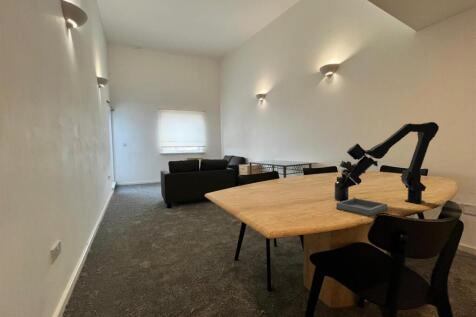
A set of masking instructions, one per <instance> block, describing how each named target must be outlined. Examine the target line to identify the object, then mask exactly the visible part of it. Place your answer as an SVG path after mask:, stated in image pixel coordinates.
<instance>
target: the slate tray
mask: <svg viewBox="0 0 476 317" xmlns="http://www.w3.org/2000/svg"><path fill="white" fill-rule="evenodd" d="M335 206H336V210H338V211H339V210H340V211H343V212H348V213H351V214H352V213H353V214H357V215H360V216H365V217H368V218H370V217H373V216H376V215H378V214H377V213H379V214H382V213H384V212H386V211H387V212H388V203H384V202H377V201H372V200H367V199H362V198H356V197H353V198H348V200H345V201H339V202H336V205H335Z"/></svg>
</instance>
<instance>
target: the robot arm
mask: <svg viewBox="0 0 476 317" xmlns="http://www.w3.org/2000/svg"><path fill="white" fill-rule="evenodd" d="M439 127H440V126H439V125H438V123H436V122H434V121H429V122H428V121H427V122H423V123H410V122H409V123H405V124H403V125H402V127H400V128H399V129H397V130H396V131H395V132H393V134H391V135H390V136H389V137H388V138H386V139H384V141H383V142H380V143H378V144H376V145H374V146H373V147H371V148H370V149H364V148H363V147H362V146H361V145H360V144H359V143H355V144H354V145H353V146H351V147H350V148H348V150H347V151H346V153H347V154H348V155H349V156H350V157H351V158H352V159H353V160H354V161H356V160H357V162H356V163H353V164H352V162H351V161H349V160H347V161H345V160H341V162H340V164H339V167H341V168H343V169H342V170H341V177H346V181H345V182H344V183H343V184H342V186H341V187H340V189H341V190H342V189H345V188H348V187H349V188H350V187H354V186H357V185H360V184H361V183H362V178H360V177H361V176H362V175H363V174H365V173H366V171H367V170H368V169H369V168H370V167H372V166H374V167H378V166H379V164H378V160H380V159H383V158H384V157H385V156H386V155H387V154H388V152H389V151H390V149H391V148H392V147H393V146H394V145H396V144H398V142H400V141H401V140H403V138H404V137H406V136H407V135H408V134H410V133H417V143H416V145H415V149H414V152H413V154H412V158H411V161H410V163H409V166H408V168H407V169H403V170H402V172H401V176H400V178H401V179H400V180H401V182H402V184H403V185H404V186H405V188H406V189H407V199H405V200H404V202H405V203H407V202H408V203H413V204H419V205H420V204H422V203H425V200H424V199H423V192H425V190H426V188H427V187H426V186H425V185H424V183H423V182H421V181H422V180H421V179H422V173H421V169H422V166H423V163H424V160H425V156H426V154H427V151H428V148H429V146H430V143H431V141H432V140H433V139H434V138H435V137H436V135H437V133H438V132H439ZM374 159H376V160H374ZM377 159H378V160H377ZM422 199H423V200H422Z"/></svg>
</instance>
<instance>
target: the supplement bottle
mask: <svg viewBox="0 0 476 317" xmlns="http://www.w3.org/2000/svg"><path fill="white" fill-rule="evenodd" d="M345 181H346V177H342V176H337V177H336V182H334V200H335V201H339V202H342V201H345V200H349V197H350V196H349V193H350V192H349V190H350V187H348V188H345V189H342V190H341V189H340V187H341V186H342V184H343V183H344V182H345Z"/></svg>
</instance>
